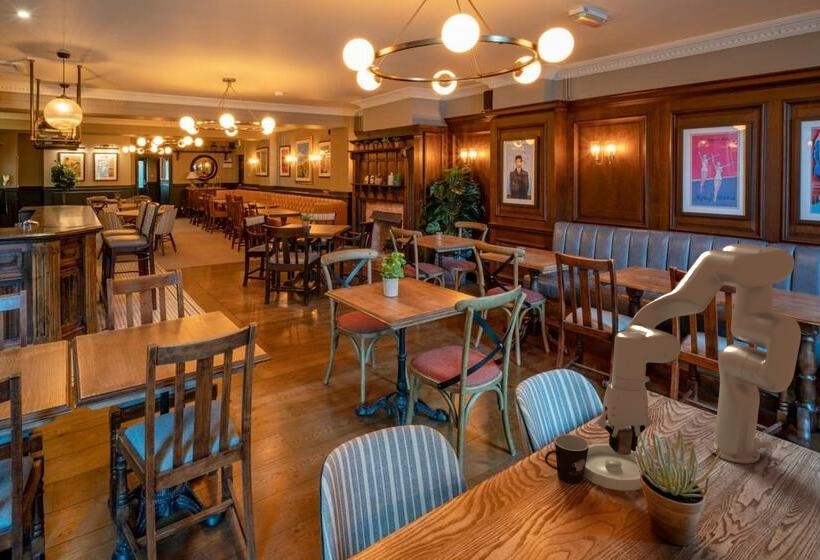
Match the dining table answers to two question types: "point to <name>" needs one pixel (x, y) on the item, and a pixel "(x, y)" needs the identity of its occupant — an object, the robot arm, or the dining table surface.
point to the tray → (611, 468)
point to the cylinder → (624, 440)
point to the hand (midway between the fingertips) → (622, 448)
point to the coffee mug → (570, 457)
